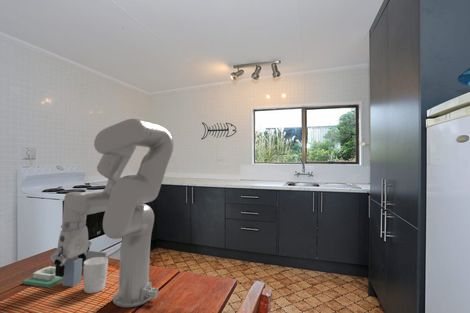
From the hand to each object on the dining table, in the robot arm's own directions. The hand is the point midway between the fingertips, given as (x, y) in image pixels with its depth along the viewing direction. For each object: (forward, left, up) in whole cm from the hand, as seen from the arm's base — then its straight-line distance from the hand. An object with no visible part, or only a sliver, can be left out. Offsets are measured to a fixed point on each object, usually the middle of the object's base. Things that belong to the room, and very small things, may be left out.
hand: (71, 270), depth 94 cm
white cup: (-12, +1, -5) cm, 13 cm away
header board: (+10, -1, -5) cm, 11 cm away
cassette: (+2, -14, -5) cm, 15 cm away
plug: (-1, 0, -5) cm, 5 cm away
